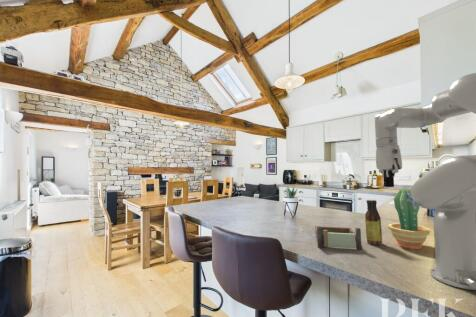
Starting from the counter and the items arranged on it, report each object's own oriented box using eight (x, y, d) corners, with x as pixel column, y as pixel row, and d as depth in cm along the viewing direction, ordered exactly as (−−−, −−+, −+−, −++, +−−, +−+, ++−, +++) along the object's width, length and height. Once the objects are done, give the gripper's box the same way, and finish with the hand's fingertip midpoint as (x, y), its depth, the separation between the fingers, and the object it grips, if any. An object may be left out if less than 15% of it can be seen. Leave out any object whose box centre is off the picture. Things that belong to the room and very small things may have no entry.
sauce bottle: (384, 246, 98) (382, 201, 99) (369, 245, 99) (367, 201, 100) (378, 241, 105) (376, 199, 106) (364, 240, 106) (362, 199, 107)
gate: (354, 247, 96) (353, 231, 96) (355, 248, 94) (354, 232, 95) (324, 245, 99) (323, 229, 99) (324, 246, 98) (323, 230, 98)
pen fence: (362, 250, 93) (361, 229, 94) (317, 247, 98) (317, 227, 98) (351, 237, 110) (351, 219, 111) (314, 236, 115) (313, 218, 115)
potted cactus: (391, 248, 95) (387, 190, 97) (386, 238, 109) (383, 187, 110) (437, 254, 88) (433, 191, 89) (426, 242, 102) (422, 188, 103)
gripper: (408, 140, 84) (411, 188, 83) (384, 144, 99) (386, 185, 98) (389, 140, 85) (391, 188, 84) (367, 145, 100) (369, 185, 99)
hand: (388, 186), depth 91 cm, fingers closed
